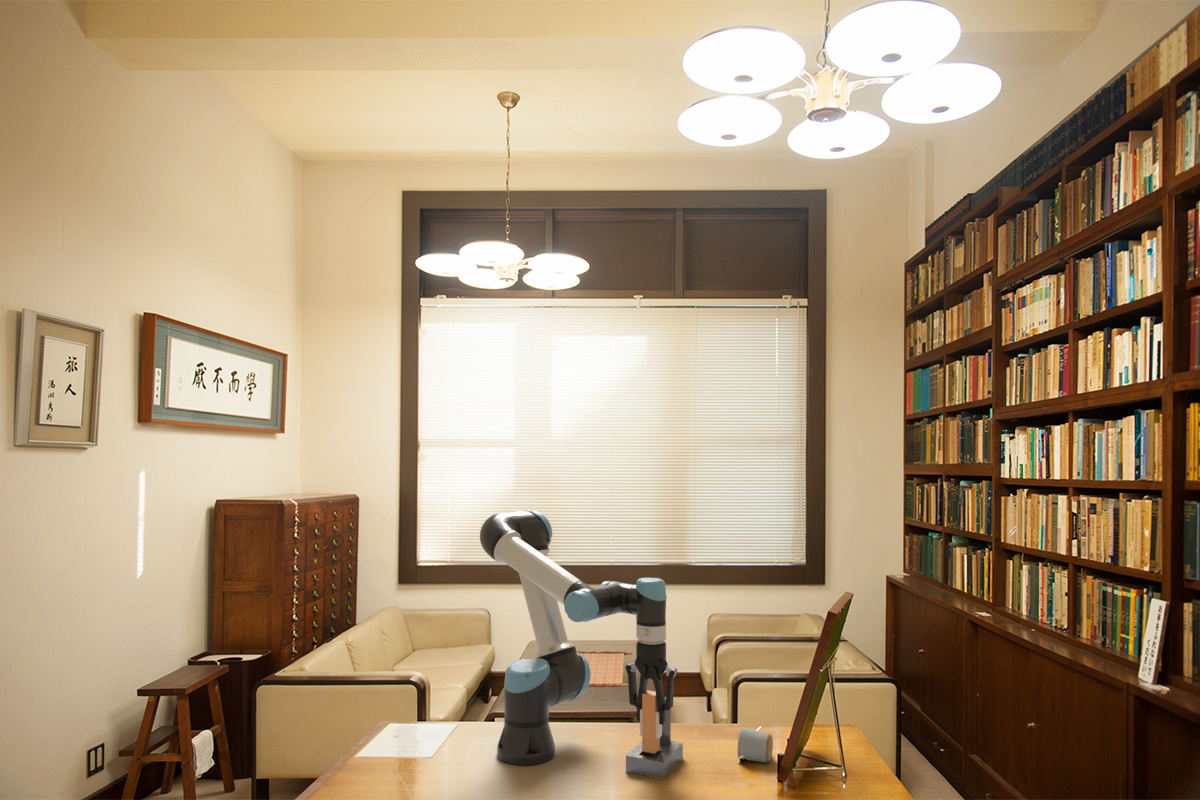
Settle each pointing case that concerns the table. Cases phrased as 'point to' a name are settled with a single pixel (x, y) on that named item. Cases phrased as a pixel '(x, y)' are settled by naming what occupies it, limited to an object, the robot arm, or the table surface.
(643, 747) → the salmon orange square bar
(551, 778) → the table surface
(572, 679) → the robot arm
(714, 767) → the table surface
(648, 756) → the grey socket base
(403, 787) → the table surface
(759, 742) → the grey rounded box
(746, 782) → the table surface
